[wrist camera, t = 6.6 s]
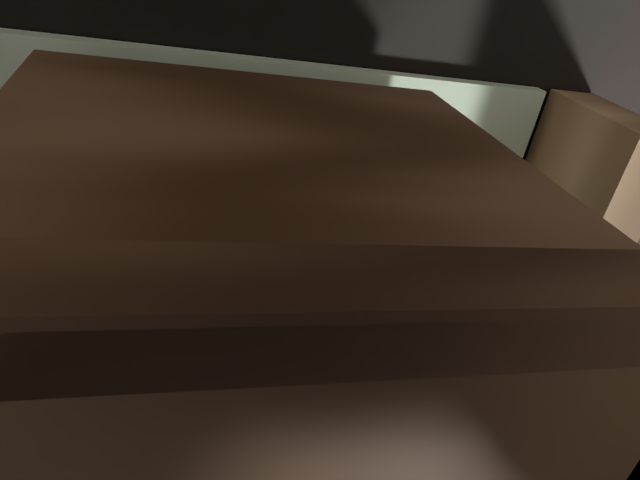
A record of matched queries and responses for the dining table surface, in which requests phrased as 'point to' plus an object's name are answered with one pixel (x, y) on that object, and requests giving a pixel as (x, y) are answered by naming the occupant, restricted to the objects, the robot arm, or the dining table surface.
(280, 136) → the crate
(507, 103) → the front pad
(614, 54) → the dining table surface
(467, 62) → the dining table surface
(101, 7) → the dining table surface
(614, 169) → the bay
